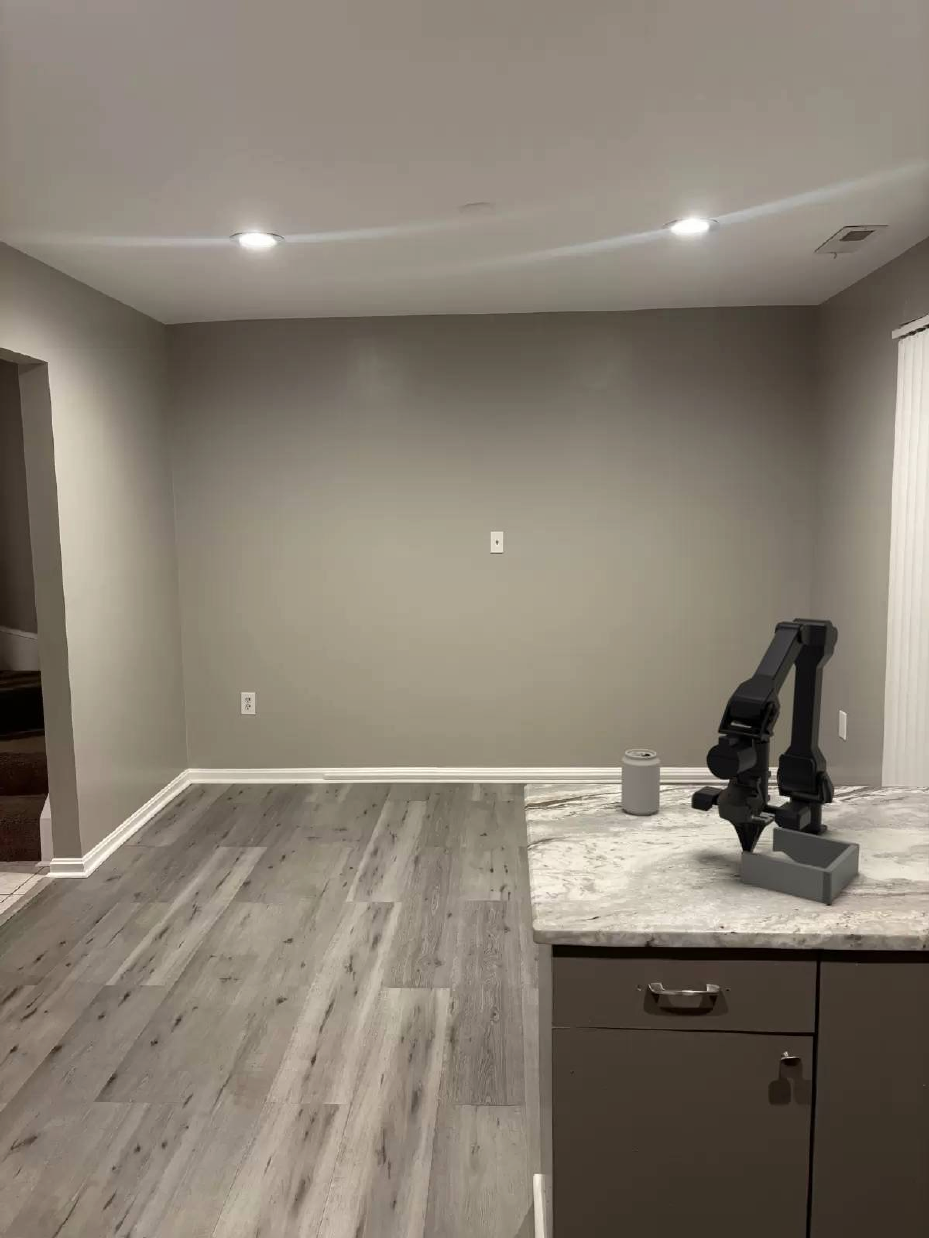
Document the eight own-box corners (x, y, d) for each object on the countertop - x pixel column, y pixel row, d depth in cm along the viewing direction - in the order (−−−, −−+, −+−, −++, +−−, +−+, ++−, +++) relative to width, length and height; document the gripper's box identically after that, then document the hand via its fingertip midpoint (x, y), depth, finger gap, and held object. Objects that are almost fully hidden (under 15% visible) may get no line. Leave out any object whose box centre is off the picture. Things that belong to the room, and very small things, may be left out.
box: (774, 854, 164) (775, 826, 163) (858, 873, 155) (859, 843, 155) (740, 882, 152) (741, 852, 152) (829, 903, 144) (830, 872, 143)
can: (659, 817, 184) (660, 757, 183) (620, 815, 185) (621, 756, 184) (659, 805, 191) (660, 747, 190) (622, 803, 193) (622, 746, 191)
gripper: (677, 767, 157) (675, 857, 159) (788, 788, 145) (785, 885, 147) (706, 753, 165) (704, 839, 167) (813, 772, 154) (809, 863, 156)
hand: (747, 856), depth 159 cm, fingers closed
